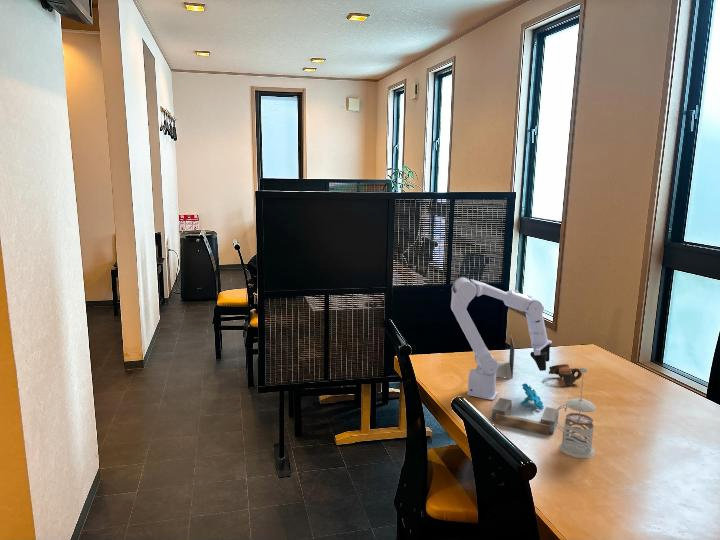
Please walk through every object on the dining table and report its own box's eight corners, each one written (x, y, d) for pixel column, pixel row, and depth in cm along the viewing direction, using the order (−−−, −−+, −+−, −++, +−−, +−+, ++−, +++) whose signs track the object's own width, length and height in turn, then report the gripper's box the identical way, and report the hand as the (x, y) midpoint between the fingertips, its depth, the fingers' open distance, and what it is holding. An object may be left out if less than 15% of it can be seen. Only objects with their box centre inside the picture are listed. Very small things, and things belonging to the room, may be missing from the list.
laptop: (480, 361, 226) (481, 332, 224) (510, 364, 223) (511, 334, 221) (480, 376, 209) (482, 345, 206) (512, 379, 206) (514, 347, 204)
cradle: (490, 422, 168) (491, 410, 168) (499, 408, 178) (499, 397, 178) (552, 436, 159) (553, 423, 159) (558, 421, 170) (558, 409, 169)
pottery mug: (551, 387, 199) (547, 365, 202) (551, 389, 207) (547, 369, 210) (585, 382, 195) (579, 361, 198) (583, 385, 204) (578, 364, 207)
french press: (592, 461, 145) (600, 376, 141) (549, 450, 151) (555, 368, 147) (597, 446, 153) (605, 365, 149) (556, 436, 159) (562, 358, 155)
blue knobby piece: (543, 409, 174) (523, 385, 177) (529, 419, 176) (509, 395, 179) (546, 401, 184) (527, 378, 187) (533, 411, 186) (514, 388, 189)
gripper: (545, 337, 178) (553, 374, 181) (552, 322, 191) (558, 356, 193) (524, 338, 182) (532, 374, 184) (532, 323, 194) (539, 357, 196)
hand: (544, 365), depth 189 cm, fingers open, 7 cm apart
